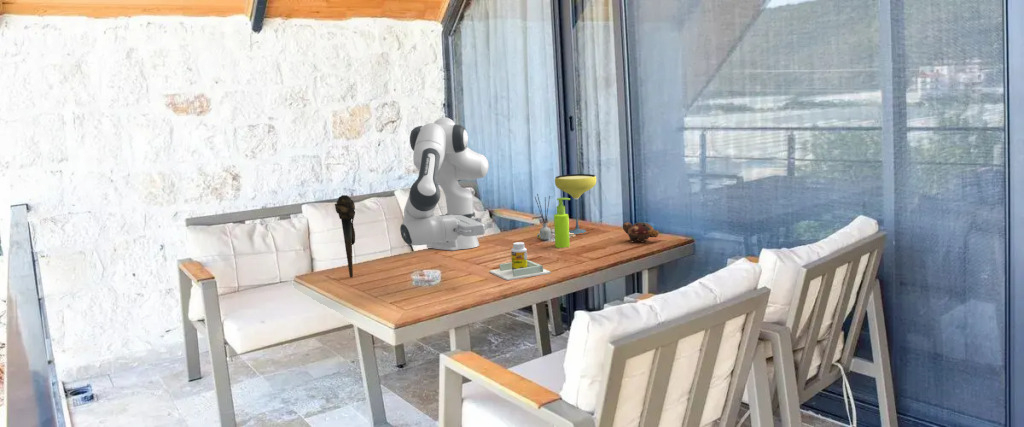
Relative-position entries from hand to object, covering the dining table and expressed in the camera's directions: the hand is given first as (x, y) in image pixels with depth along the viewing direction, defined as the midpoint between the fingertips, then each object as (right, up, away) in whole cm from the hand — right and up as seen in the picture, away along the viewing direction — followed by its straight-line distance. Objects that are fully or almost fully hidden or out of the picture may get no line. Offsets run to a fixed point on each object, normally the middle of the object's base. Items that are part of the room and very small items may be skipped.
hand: (486, 222), depth 277 cm
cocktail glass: (+38, -6, +78) cm, 87 cm away
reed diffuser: (+22, -8, +65) cm, 69 cm away
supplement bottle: (+12, -18, +8) cm, 22 cm away
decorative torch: (-49, -20, +14) cm, 55 cm away
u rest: (+12, -18, +8) cm, 23 cm away
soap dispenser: (+30, -11, +50) cm, 59 cm away
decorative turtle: (+62, -9, +52) cm, 81 cm away
